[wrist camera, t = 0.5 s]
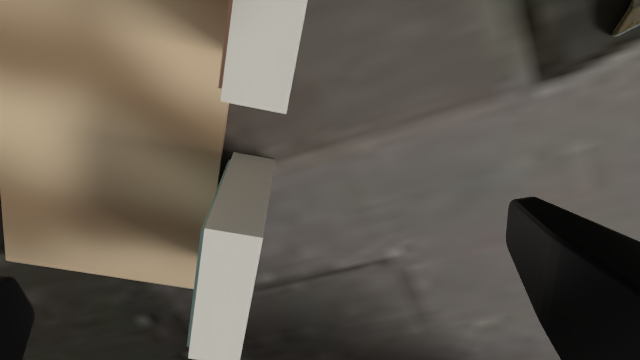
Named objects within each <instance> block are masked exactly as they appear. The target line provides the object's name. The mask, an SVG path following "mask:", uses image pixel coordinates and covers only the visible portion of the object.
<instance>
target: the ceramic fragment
mask: <svg viewBox="0 0 640 360" xmlns="http://www.w3.org/2000/svg"><path fill="white" fill-rule="evenodd" d="M639 25H640V0H632V2H631V4H630V6H629V8H628V9H627V11H626V13H625V14H624V16H623V17H622V19H621V21H620V22H619V23H618V25H617V26H616V28H615V30H614V32H613V35H612V36H613V37H614V36H618V35H621V34H623V33H625V32H627V31H629V30H631V29H632V28H635V27H637V26H639Z"/></svg>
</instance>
